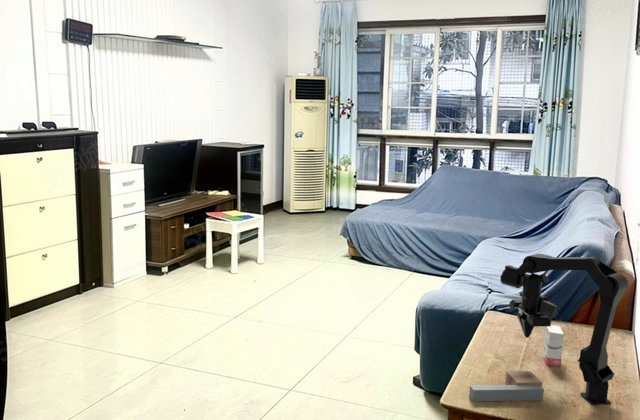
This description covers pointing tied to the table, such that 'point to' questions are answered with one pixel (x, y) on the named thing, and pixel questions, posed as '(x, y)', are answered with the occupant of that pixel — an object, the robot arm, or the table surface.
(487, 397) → the grey board
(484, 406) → the table surface
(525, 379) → the walnut block
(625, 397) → the table surface
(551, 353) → the ink box
